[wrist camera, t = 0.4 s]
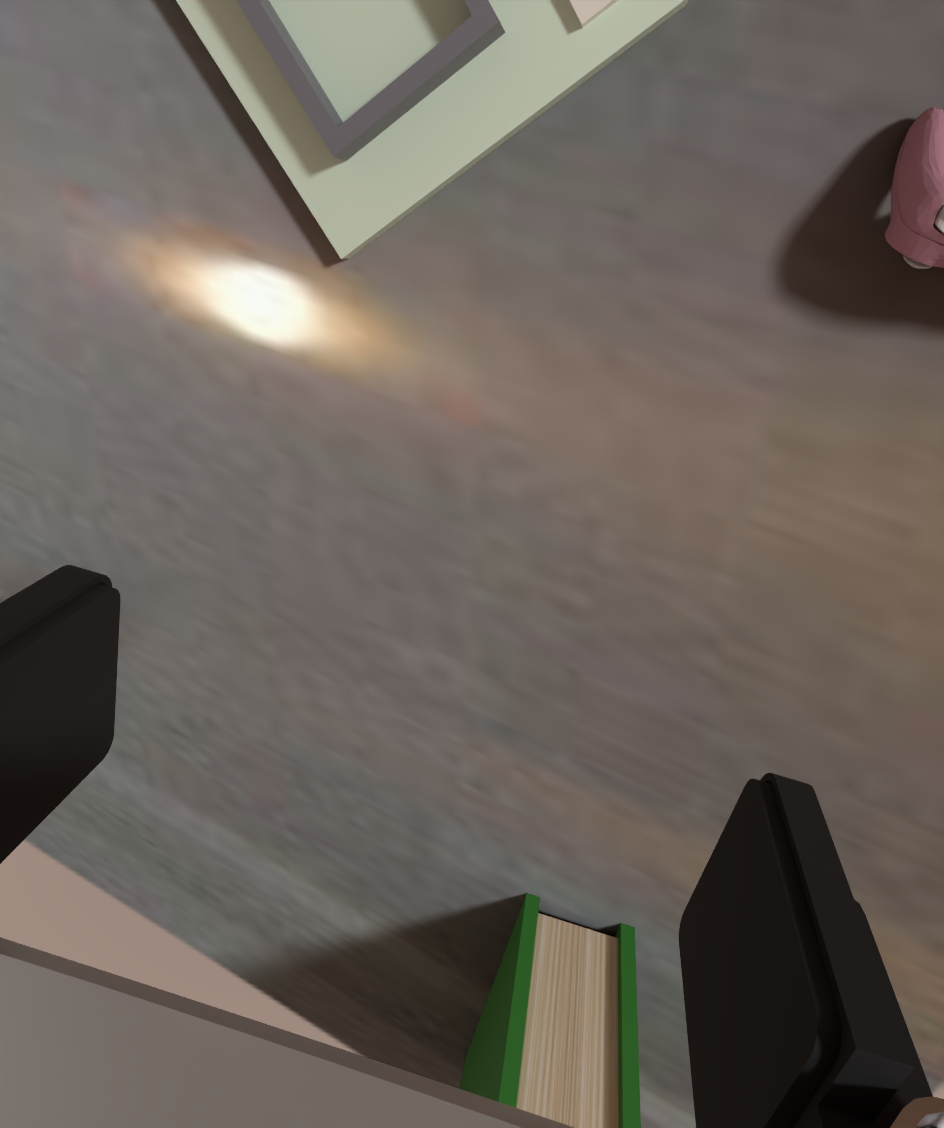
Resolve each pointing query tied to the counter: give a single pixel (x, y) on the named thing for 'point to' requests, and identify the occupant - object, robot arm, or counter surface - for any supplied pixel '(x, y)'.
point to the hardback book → (561, 1025)
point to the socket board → (404, 87)
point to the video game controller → (920, 193)
